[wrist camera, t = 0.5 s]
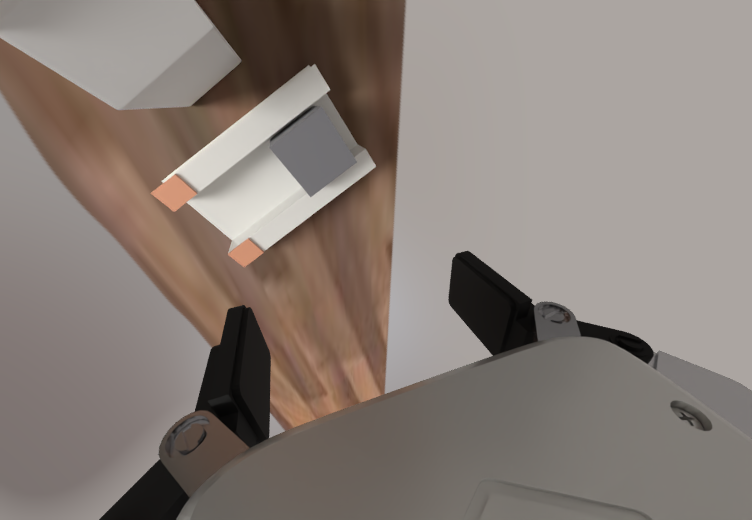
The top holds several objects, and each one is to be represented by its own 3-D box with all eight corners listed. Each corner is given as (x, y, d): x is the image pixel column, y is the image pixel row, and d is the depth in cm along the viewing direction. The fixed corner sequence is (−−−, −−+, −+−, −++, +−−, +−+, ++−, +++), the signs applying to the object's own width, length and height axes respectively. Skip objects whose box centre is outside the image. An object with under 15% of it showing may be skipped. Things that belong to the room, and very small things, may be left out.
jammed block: (313, 105, 29) (321, 106, 24) (343, 151, 33) (357, 162, 27) (270, 139, 30) (269, 147, 24) (304, 181, 33) (310, 197, 27)
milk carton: (242, 61, 27) (196, 4, 11) (189, 107, 27) (75, 114, 12) (174, -27, 23) (-48, -310, 7) (113, 29, 23) (-220, -122, 8)
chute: (307, 65, 28) (313, 60, 25) (366, 161, 35) (378, 169, 31) (164, 178, 29) (147, 190, 25) (249, 250, 36) (246, 268, 32)
